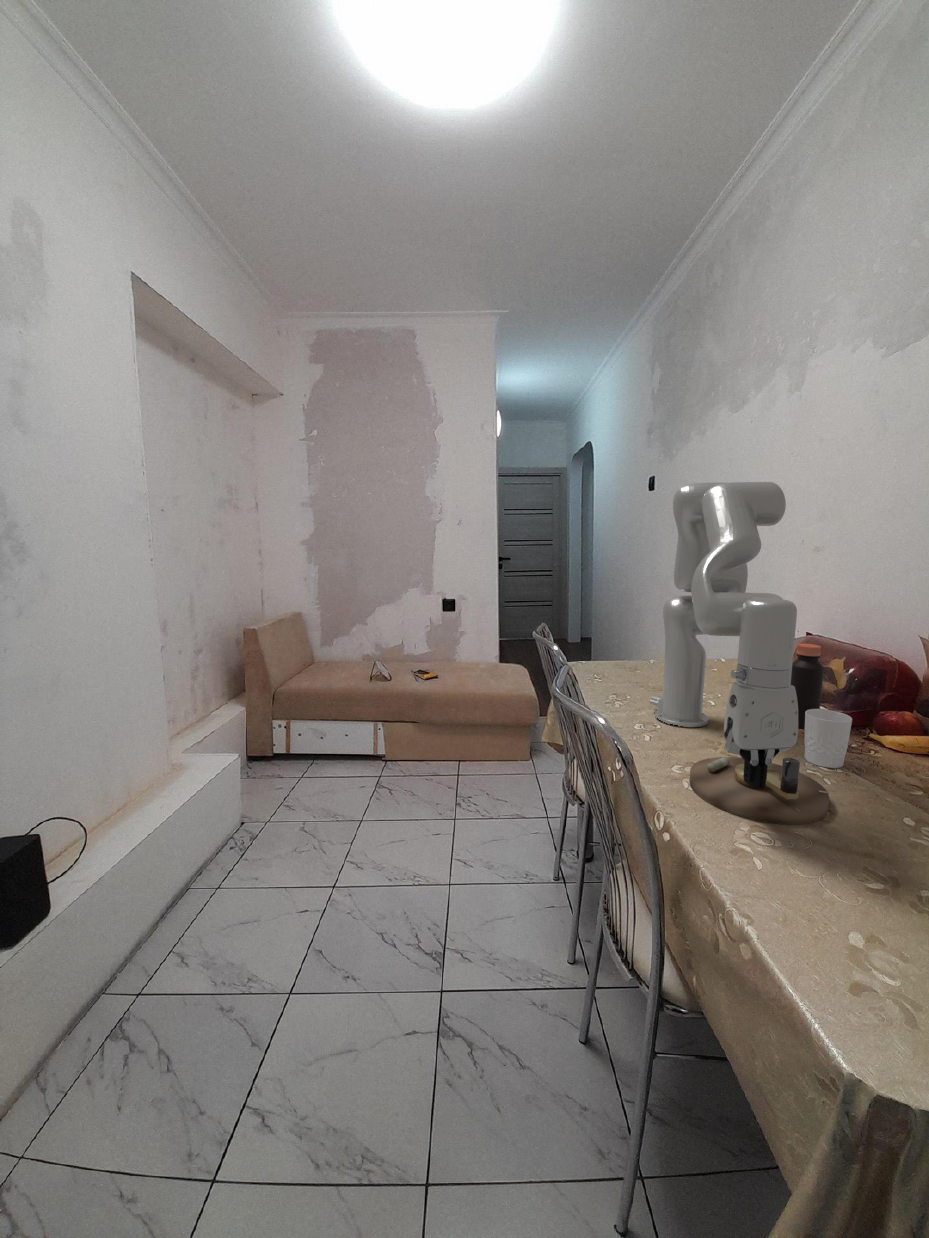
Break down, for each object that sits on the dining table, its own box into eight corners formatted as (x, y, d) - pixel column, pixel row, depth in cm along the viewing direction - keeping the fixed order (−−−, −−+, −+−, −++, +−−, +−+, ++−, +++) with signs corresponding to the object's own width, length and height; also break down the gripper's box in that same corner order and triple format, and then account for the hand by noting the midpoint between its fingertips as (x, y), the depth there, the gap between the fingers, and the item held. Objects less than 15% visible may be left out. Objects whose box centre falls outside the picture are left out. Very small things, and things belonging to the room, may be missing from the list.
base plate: (665, 786, 98) (666, 767, 98) (726, 757, 111) (727, 741, 111) (794, 839, 81) (796, 817, 80) (848, 797, 94) (851, 778, 93)
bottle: (779, 722, 132) (786, 644, 129) (797, 718, 135) (804, 641, 132) (805, 731, 126) (813, 649, 123) (824, 727, 129) (832, 646, 126)
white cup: (854, 771, 105) (860, 722, 103) (810, 767, 106) (815, 720, 105) (835, 755, 112) (840, 710, 111) (794, 752, 114) (799, 707, 112)
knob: (726, 772, 99) (729, 735, 98) (761, 770, 100) (764, 734, 98) (772, 806, 86) (776, 764, 85) (812, 803, 87) (816, 762, 86)
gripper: (733, 684, 79) (724, 798, 82) (825, 681, 81) (813, 793, 84) (705, 671, 87) (698, 777, 90) (790, 669, 88) (780, 772, 91)
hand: (754, 784), depth 87 cm, fingers closed
